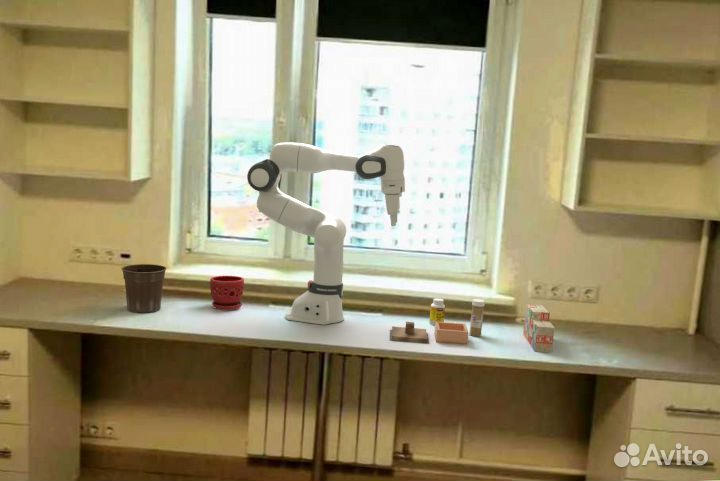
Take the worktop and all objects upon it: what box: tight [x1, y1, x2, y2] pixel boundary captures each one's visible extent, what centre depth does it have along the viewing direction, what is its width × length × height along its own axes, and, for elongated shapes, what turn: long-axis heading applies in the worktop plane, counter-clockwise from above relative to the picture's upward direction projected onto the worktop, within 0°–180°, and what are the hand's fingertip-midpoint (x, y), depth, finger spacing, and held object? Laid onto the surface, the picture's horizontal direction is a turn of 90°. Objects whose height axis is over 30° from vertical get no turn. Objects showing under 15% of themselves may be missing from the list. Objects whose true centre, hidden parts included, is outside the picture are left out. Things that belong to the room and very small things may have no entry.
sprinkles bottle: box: [468, 298, 486, 338], centre depth 263 cm, size 5×5×14 cm
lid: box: [391, 321, 428, 344], centre depth 254 cm, size 12×12×5 cm
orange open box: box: [434, 321, 469, 346], centre depth 255 cm, size 11×11×5 cm
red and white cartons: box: [522, 303, 556, 353], centre depth 258 cm, size 21×6×12 cm, turn 178°
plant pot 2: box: [209, 275, 245, 311], centre depth 278 cm, size 13×13×12 cm
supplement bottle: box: [428, 298, 446, 327], centre depth 273 cm, size 6×6×10 cm
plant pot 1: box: [121, 263, 167, 314], centre depth 267 cm, size 16×16×16 cm
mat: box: [389, 329, 430, 345], centre depth 255 cm, size 14×14×1 cm
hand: (394, 224), depth 266 cm, fingers open, 8 cm apart
